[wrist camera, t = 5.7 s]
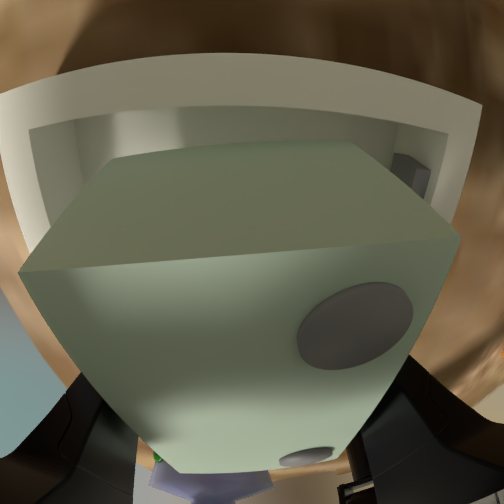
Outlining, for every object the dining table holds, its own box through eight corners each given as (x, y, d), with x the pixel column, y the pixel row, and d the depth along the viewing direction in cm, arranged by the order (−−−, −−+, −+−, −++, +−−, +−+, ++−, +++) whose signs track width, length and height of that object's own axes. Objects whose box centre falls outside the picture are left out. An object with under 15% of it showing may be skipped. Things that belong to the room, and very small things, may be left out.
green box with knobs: (314, 368, 13) (337, 461, 9) (182, 380, 13) (179, 476, 9) (349, 140, 7) (467, 243, 3) (111, 158, 7) (13, 279, 3)
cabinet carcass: (347, 341, 17) (364, 391, 14) (121, 348, 16) (110, 401, 13) (418, 85, 9) (482, 104, 6) (53, 79, 8) (-8, 97, 5)
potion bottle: (149, 374, 18) (140, 553, 8) (278, 382, 19) (306, 549, 10) (156, 422, 22) (153, 546, 13) (253, 427, 24) (267, 547, 14)
